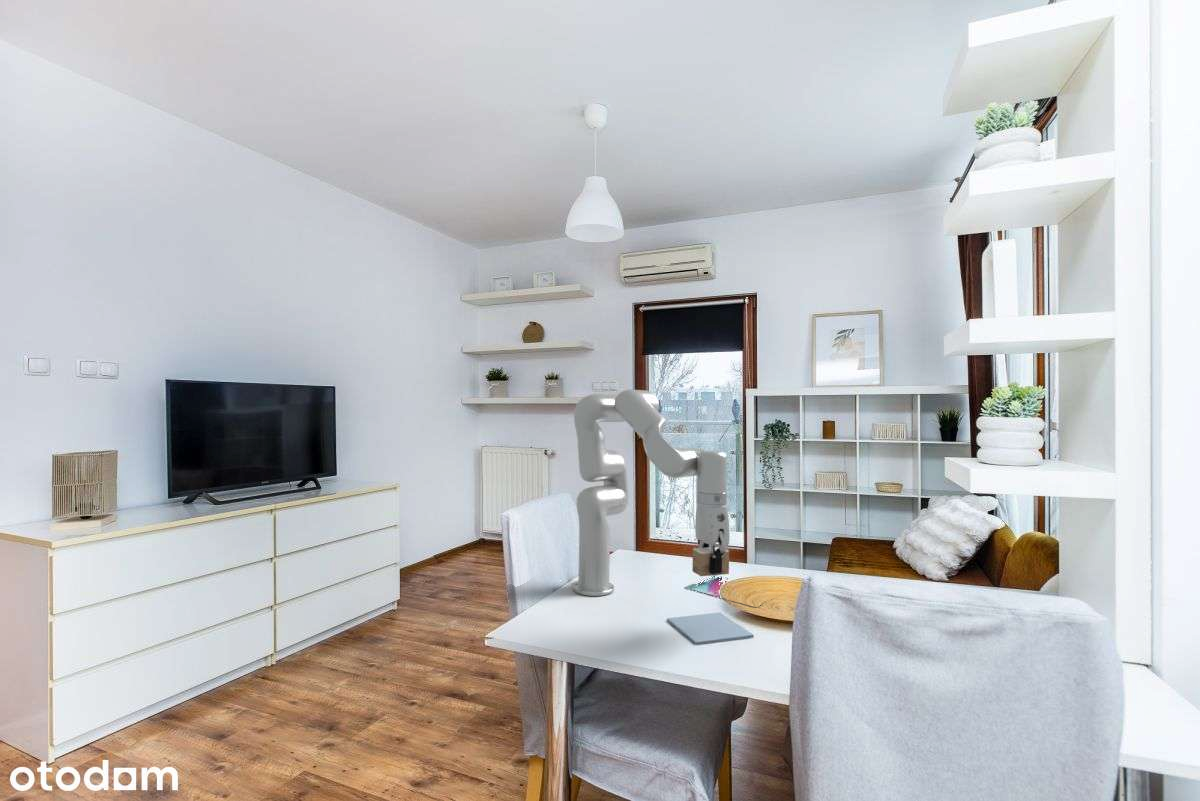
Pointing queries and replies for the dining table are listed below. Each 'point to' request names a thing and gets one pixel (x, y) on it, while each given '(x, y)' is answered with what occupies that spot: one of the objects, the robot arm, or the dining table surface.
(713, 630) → the mat
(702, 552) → the block
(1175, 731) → the dining table surface
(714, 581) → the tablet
